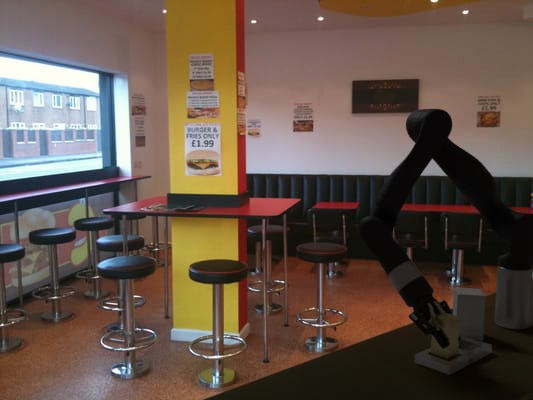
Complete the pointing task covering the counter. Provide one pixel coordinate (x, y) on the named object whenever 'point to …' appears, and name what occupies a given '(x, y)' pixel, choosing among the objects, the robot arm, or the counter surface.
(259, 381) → the counter surface
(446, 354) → the brown square post
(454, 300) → the supplement box
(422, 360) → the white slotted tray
